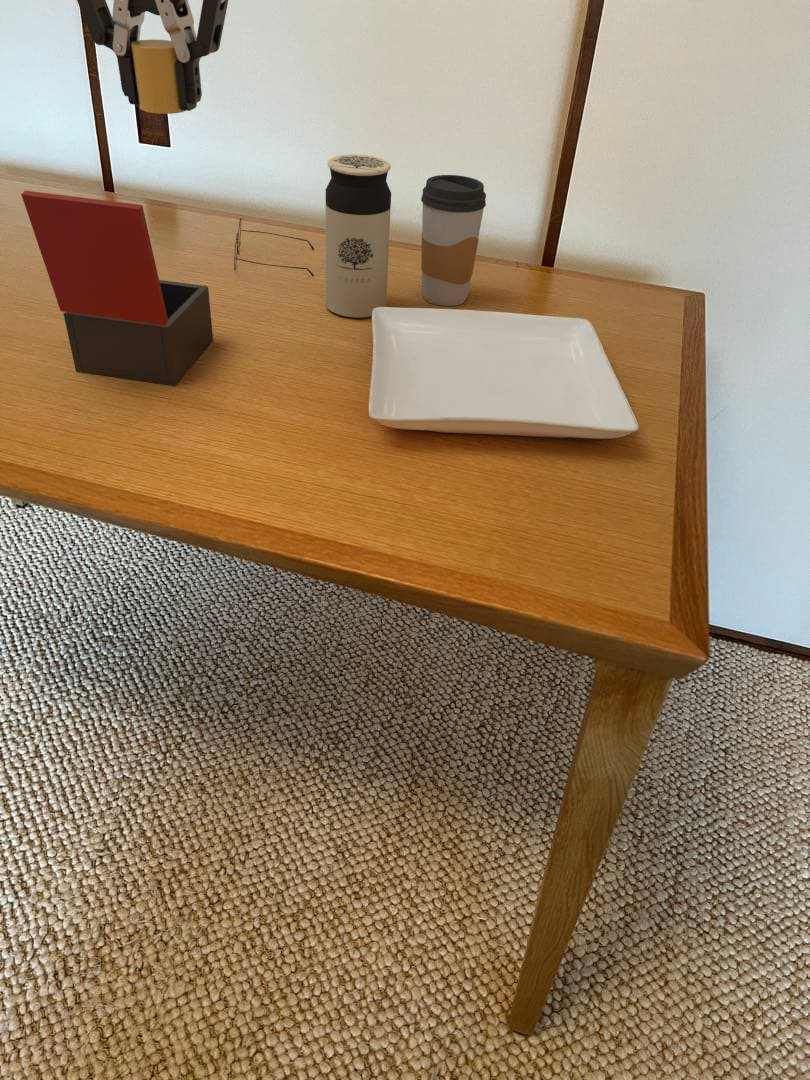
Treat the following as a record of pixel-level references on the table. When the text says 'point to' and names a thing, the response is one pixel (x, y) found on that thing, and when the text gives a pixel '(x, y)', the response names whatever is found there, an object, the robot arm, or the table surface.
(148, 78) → the mustard yellow cylinder
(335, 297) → the travel mug
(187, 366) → the open box
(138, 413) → the table surface
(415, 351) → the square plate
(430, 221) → the coffee cup
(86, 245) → the box lid
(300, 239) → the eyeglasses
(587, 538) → the table surface
